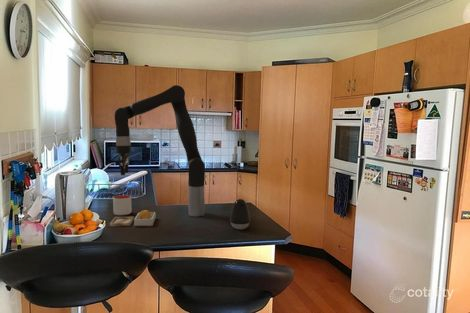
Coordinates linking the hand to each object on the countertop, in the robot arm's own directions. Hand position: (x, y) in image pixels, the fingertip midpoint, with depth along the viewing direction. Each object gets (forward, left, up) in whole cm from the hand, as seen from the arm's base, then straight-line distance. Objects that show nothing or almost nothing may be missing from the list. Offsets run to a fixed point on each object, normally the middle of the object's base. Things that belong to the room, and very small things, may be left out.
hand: (124, 173), depth 182 cm
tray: (0, +9, -25) cm, 26 cm away
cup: (+4, -9, -25) cm, 27 cm away
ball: (-12, +9, -22) cm, 26 cm away
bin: (-12, +9, -25) cm, 29 cm away
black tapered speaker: (-61, +24, -25) cm, 70 cm away
